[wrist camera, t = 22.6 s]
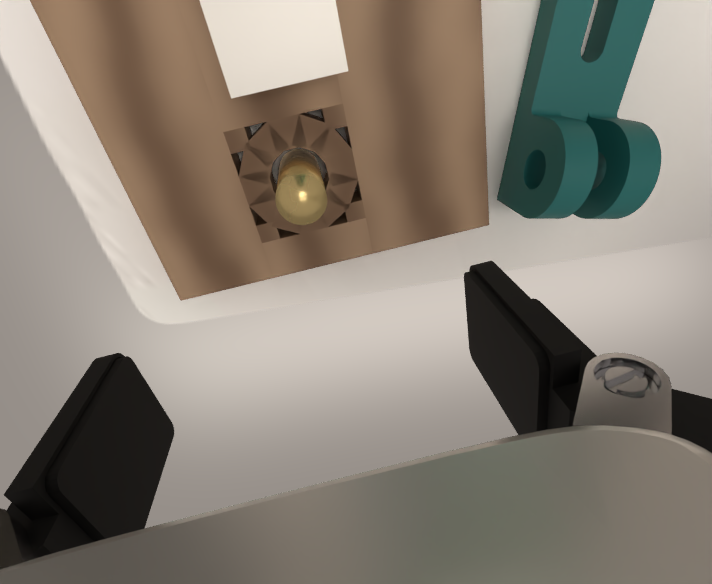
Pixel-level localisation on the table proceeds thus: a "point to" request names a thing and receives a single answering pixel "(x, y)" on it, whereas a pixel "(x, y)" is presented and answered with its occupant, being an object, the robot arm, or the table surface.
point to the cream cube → (274, 42)
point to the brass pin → (300, 188)
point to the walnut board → (282, 133)
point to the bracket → (580, 117)
